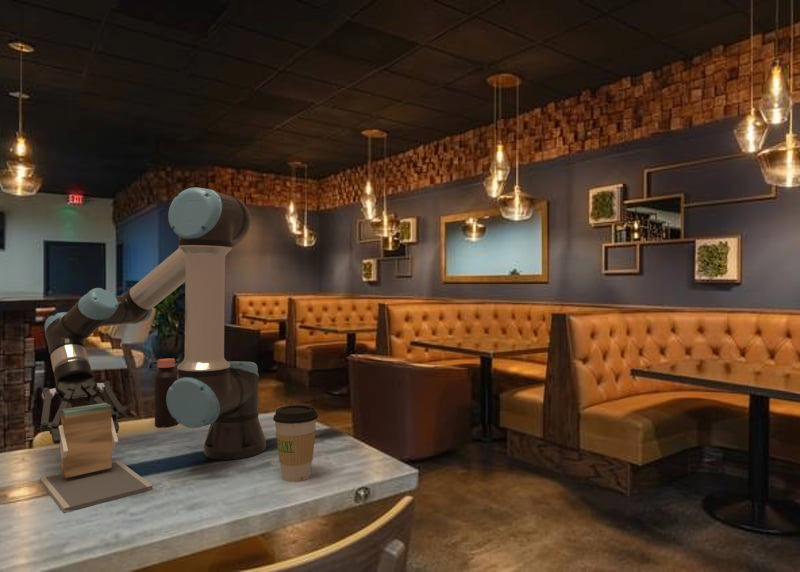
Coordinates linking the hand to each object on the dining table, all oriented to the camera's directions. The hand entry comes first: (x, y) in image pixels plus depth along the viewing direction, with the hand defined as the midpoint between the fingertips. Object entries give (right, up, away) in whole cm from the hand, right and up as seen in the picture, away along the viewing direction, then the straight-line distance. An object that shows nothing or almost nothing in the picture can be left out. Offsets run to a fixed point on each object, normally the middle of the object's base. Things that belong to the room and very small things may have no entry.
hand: (90, 449), depth 116 cm
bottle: (-4, -7, +47) cm, 48 cm away
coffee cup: (+44, -7, +2) cm, 45 cm away
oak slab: (-2, -5, +2) cm, 6 cm away
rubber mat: (+2, -7, -2) cm, 8 cm away
